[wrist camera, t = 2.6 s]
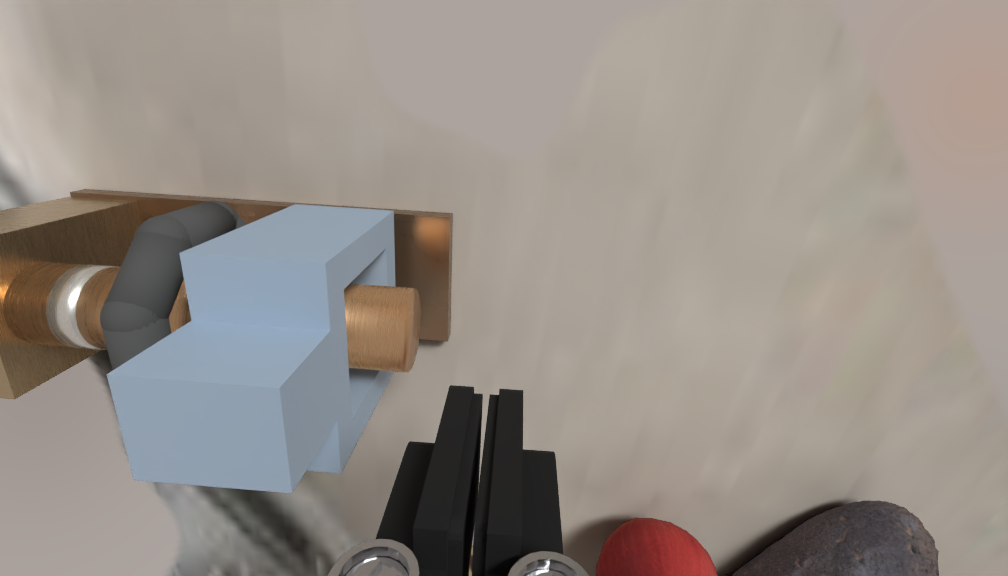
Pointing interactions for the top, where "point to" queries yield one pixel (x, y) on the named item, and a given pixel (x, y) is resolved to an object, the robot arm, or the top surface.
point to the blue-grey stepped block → (260, 356)
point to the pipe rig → (102, 249)
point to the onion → (653, 551)
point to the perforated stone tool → (851, 545)
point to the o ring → (156, 276)
